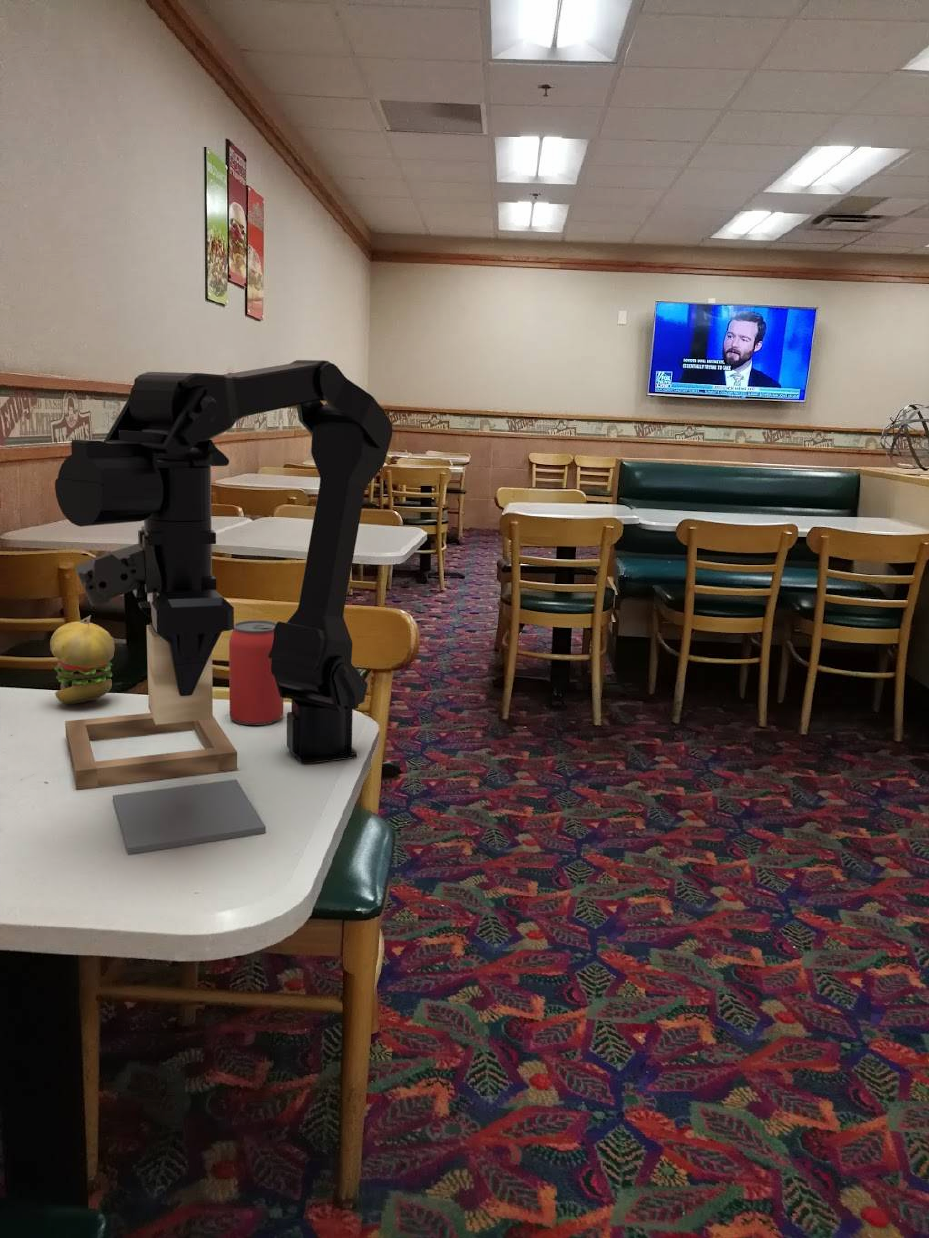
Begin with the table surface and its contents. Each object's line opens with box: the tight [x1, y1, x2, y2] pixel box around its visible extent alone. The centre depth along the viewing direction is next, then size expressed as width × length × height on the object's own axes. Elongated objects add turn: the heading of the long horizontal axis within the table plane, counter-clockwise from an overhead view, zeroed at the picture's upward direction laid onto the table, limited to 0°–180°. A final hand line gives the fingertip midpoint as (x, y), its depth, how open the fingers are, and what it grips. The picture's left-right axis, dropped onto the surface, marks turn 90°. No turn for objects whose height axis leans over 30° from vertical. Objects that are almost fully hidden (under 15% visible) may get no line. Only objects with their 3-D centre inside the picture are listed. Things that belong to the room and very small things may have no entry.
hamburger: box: [49, 615, 116, 705], centre depth 117 cm, size 8×7×12 cm
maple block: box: [146, 624, 214, 725], centre depth 85 cm, size 5×5×8 cm
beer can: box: [228, 619, 284, 726], centre depth 115 cm, size 7×7×12 cm
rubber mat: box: [111, 778, 267, 856], centre depth 88 cm, size 12×12×1 cm
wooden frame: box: [64, 712, 238, 791], centre depth 103 cm, size 16×16×2 cm
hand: (181, 687), depth 86 cm, fingers closed on maple block, 5 cm apart
